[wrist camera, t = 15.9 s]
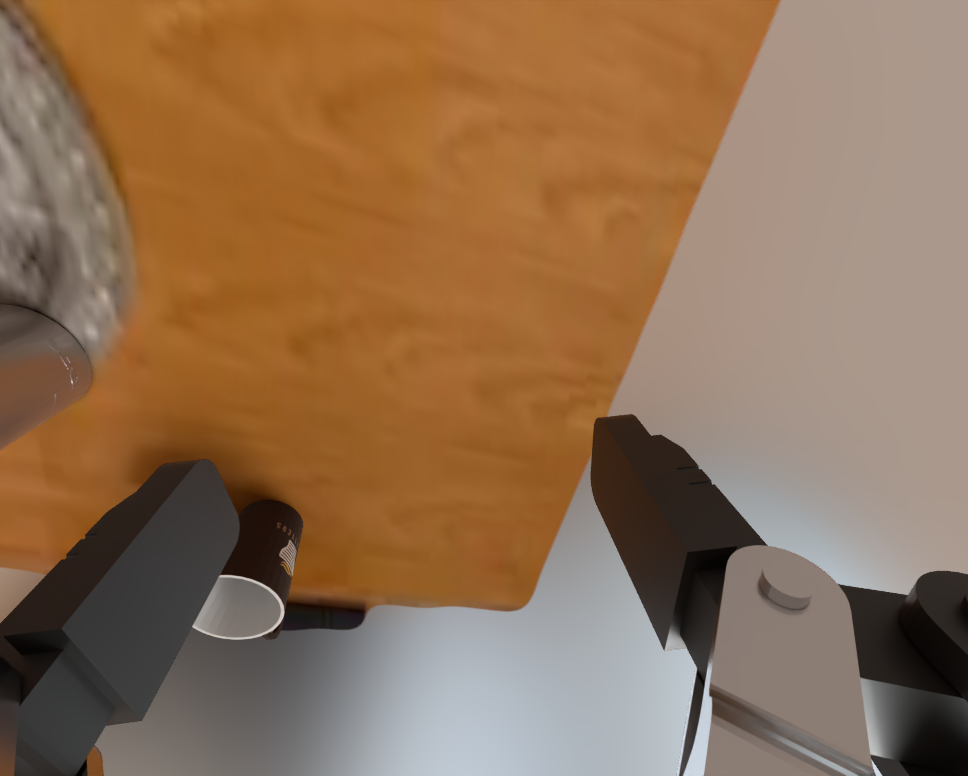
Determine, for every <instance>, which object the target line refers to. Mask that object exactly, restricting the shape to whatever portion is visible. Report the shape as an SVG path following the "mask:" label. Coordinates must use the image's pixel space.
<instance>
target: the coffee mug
mask: <svg viewBox="0 0 968 776" xmlns="http://www.w3.org/2000/svg"><path fill="white" fill-rule="evenodd" d="M238 517H239V524H240V529H239V537H238V541H237V543H236V546H235V548H234V550H233V551H232V553H231V555H230V557H229V559H228V561H227V563H226V564H225V566H224V568H223V570H222V572H221V574H220V576H219V578H218V579H217V581H216V583H215V585H214V587H213V589H212V591H211V593H210V594H209V596H208V598H207V600H206V602H205V604H204V606H203V607H202V609H201V611H200V613H199V615H198V617H197V619H196V621H195V622H194V624H193V626H192V627H193V628H195V629H197V630H199V631H201V632H203V633H205V634H208V635H211V636H214V637H219V638H224V639H249V638H255V637H259V636H263V637H264V638H265V639H267V640H272V639H275V638H277V636H278V634H279V633H280V631H281V629H282V625H283V617H284V612H285V607H286V603H287V598H288V594H289V589H290V584H291V580H292V575H293V570H294V566H295V561H296V556H297V552H298V547H299V542H300V538H301V533H302V528H303V521H302V518H301V516H300V515H299V513H298V512H297V511H296V510H295V509H293V508H292V507H290V506H288V505H286V504H284V503H281V502H277V501H270V500H265V501H258V502H254V503H252V504H250V505H248V506H247V507H246V508H245V509H244V510H243V511H242V513H241V514H240V515H239V516H238ZM274 629H275V630H274ZM272 630H274V631H273V633H270V631H272Z"/></svg>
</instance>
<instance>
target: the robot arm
mask: <svg viewBox="0 0 968 776" xmlns="http://www.w3.org/2000/svg"><path fill="white" fill-rule="evenodd" d="M91 376H92V373H91V367H90V363H89V360H88V358H87V356H86V353H85V352H84V350H83V349H82V347H81V346H80V345H79V343H78V342H77V341H76V340H75V339H74V338H73V337H72V336H71V334H70V333H69V332H67V331H66V330H65V329H64V328H62V327H61V326H60V325H58V324H57V323H56V322H54V321H52V320H51V319H49V318H47V317H45V316H44V315H42V314H39V313H37V312H34V311H32V310H29V309H26V308H22V307H18V306H15V305H6V304H0V450H2V449H3V448H5V447H6V446H8V445H9V444H11V443H12V442H14V441H16V440H17V439H19V438H20V437H22V436H23V435H25V434H26V433H28V432H29V431H31V430H33V429H34V428H36V427H37V426H39V425H40V424H42V423H44V422H45V421H47V420H48V419H50V418H51V417H53V416H54V415H56V414H57V413H59V412H60V411H62V410H63V409H65V408H67V407H68V406H70V405H71V404H73V403H74V402H76V401H77V400H79V399H80V398H81V397H82V396H83V395H84V394H85V393H86V392H87V391H88V388H89V386H90V384H91ZM591 486H592V492H593V496H594V499H595V502H596V505H597V507H598V509H599V511H600V513H601V515H602V518H603V519H604V522H605V524H606V526H607V528H608V530H609V533H610V535H611V537H612V539H613V541H614V543H615V546H616V548H617V550H618V552H619V554H620V556H621V559H622V561H623V563H624V565H625V567H626V569H627V571H628V574H629V576H630V578H631V580H632V582H633V584H634V587H635V589H636V591H637V593H638V595H639V597H640V599H641V602H642V604H643V606H644V608H645V610H646V612H647V614H648V617H649V619H650V621H651V623H652V625H653V628H654V629H655V632H656V634H657V636H658V638H659V640H660V643H661V645H662V647H663V649H664V651H668V650H676V649H684V648H687V649H688V651H689V653H690V655H691V657H692V659H693V661H694V663H695V664H696V669H695V673H694V677H693V683H692V688H691V694H690V700H689V706H688V711H687V717H686V722H685V728H684V734H683V740H682V745H681V751H680V757H679V763H678V768H677V774H676V776H876V775H875V772H874V769H873V766H872V762H871V759H872V761H873V762H874V764H875V765H876V766H877V768H878V770H879V771H880V773H881V774H882V776H968V574H963V573H959V572H951V571H934V572H929V573H927V574H924V575H922V576H921V577H920V578H919V579H918V580H917V582H916V584H915V585H914V587H913V588H912V590H911V591H910V593H909V595H904V594H897V593H890V592H884V591H877V590H871V589H864V588H858V587H851V586H845V585H840V584H837V583H836V582H835V581H834V580H833V579H832V578H831V577H830V576H829V575H828V574H827V573H826V572H825V571H823V570H822V569H821V568H819V567H818V566H816V565H815V564H814V563H812V562H810V561H808V560H807V559H805V558H803V557H801V556H799V555H797V554H795V553H792V552H789V551H787V550H783V549H780V548H776V547H770V546H768V545H767V544H766V543H765V542H764V541H763V540H762V539H761V538H760V536H759V535H758V534H757V533H756V532H755V531H754V529H753V528H752V527H751V526H750V525H749V524H748V523H747V521H746V520H745V519H744V518H743V517H742V516H741V514H740V513H739V512H738V511H737V510H736V509H735V507H734V506H733V505H732V504H731V503H730V502H729V501H728V499H727V498H726V497H725V496H724V495H723V494H722V493H721V491H720V490H719V489H718V488H717V487H716V485H712V483H711V480H710V479H709V477H708V476H707V475H706V474H705V473H704V472H703V471H702V469H700V470H699V468H698V465H697V464H696V462H695V461H694V460H693V459H692V458H691V457H690V455H689V454H688V453H687V452H686V451H685V450H684V449H683V448H682V447H680V446H679V445H677V444H675V443H674V442H672V441H670V440H669V439H667V438H666V437H664V436H662V435H654V436H651V435H650V434H649V433H648V432H647V430H646V429H645V428H644V427H643V425H642V424H641V423H640V421H639V420H638V419H637V417H636V416H634V415H632V414H630V415H620V416H611V417H602V418H597V419H596V421H595V424H594V432H593V447H592V462H591ZM239 529H240V524H239V517H238V514H237V512H236V509H235V507H234V505H233V503H232V501H231V499H230V496H229V494H228V492H227V490H226V488H225V485H224V483H223V481H222V479H221V477H220V475H219V472H218V470H217V468H216V466H215V465H214V464H213V463H212V462H211V461H210V460H207V459H202V460H192V461H183V462H174V463H166V464H163V465H162V466H160V467H159V468H158V469H157V470H156V471H155V472H154V473H153V474H152V475H151V476H150V477H149V479H148V480H147V481H146V482H145V483H144V484H143V485H142V486H141V487H140V488H139V489H138V490H137V492H135V493H134V494H132V495H131V496H129V497H128V498H126V499H125V500H124V501H122V502H121V503H119V504H118V505H116V506H115V507H114V508H112V509H111V510H109V511H108V512H107V513H106V514H105V515H104V516H103V517H102V518H101V519H100V520H99V521H98V522H97V523H96V524H95V525H94V526H93V527H92V528H91V529H90V530H89V531H88V532H87V533H86V534H85V536H86V537H85V539H81V540H80V541H79V542H78V543H77V544H76V545H75V546H74V547H73V548H72V549H71V550H70V551H69V552H68V553H67V554H66V555H67V558H66V559H64V560H61V561H60V562H59V563H58V564H57V565H56V566H55V567H54V568H53V569H52V570H51V571H50V572H49V573H48V574H47V575H46V576H45V577H44V579H42V580H41V582H40V583H39V584H38V585H37V586H36V587H35V588H34V589H33V590H32V591H31V592H30V593H29V594H28V595H27V596H26V597H25V598H24V599H23V600H22V601H21V602H20V604H19V605H18V606H17V607H16V608H15V609H14V610H13V611H12V612H11V613H10V614H9V615H8V616H7V617H6V618H5V619H4V620H3V621H2V622H1V623H0V776H104V773H103V760H102V755H101V752H100V750H99V749H98V748H97V747H96V746H95V745H94V744H95V743H96V741H97V739H98V738H99V736H100V734H101V733H102V731H103V729H104V728H105V726H106V725H107V726H108V725H114V724H122V723H129V722H137V721H142V719H143V718H144V716H145V714H146V712H147V710H148V708H149V707H150V705H151V703H152V701H153V699H154V697H155V695H156V693H157V691H158V690H159V688H160V686H161V684H162V682H163V680H164V678H165V676H166V675H167V673H168V671H169V669H170V667H171V665H172V664H173V662H174V660H175V658H176V656H177V654H178V652H179V650H180V649H181V647H182V645H183V643H184V641H185V639H186V637H187V636H188V634H189V632H190V630H191V628H192V626H193V624H194V622H195V621H196V619H197V617H198V615H199V613H200V611H201V609H202V607H203V606H204V604H205V602H206V600H207V598H208V596H209V594H210V593H211V591H212V589H213V587H214V585H215V583H216V581H217V579H218V578H219V576H220V574H221V572H222V570H223V568H224V566H225V564H226V563H227V561H228V559H229V557H230V555H231V553H232V551H233V550H234V548H235V546H236V543H237V541H238V537H239Z"/></svg>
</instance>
